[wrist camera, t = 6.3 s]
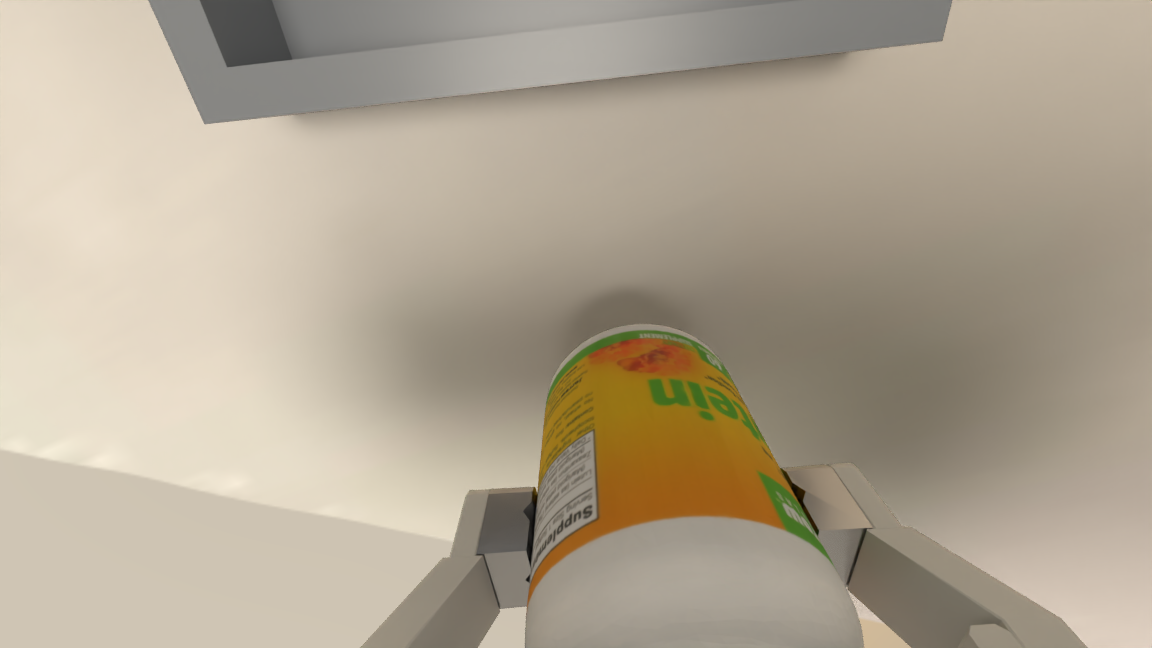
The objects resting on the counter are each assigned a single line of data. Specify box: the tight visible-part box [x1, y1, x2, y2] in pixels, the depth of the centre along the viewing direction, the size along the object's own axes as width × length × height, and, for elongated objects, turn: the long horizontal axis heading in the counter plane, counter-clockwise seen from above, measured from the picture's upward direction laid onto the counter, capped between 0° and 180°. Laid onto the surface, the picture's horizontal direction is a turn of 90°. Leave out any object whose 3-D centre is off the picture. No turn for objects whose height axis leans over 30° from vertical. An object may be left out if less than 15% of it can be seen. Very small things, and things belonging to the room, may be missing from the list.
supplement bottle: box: [525, 324, 864, 648], centre depth 9 cm, size 5×5×10 cm
